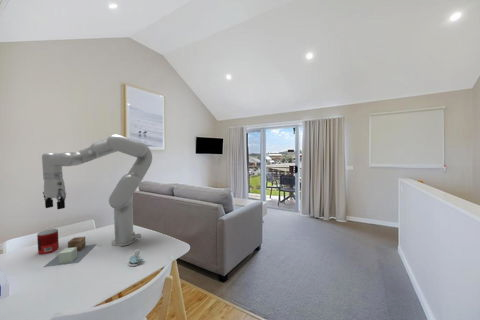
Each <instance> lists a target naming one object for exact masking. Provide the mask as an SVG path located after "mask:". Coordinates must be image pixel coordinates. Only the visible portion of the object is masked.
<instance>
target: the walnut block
mask: <svg viewBox="0 0 480 320" xmlns="http://www.w3.org/2000/svg"><path fill="white" fill-rule="evenodd" d="M85 246H86V236H79V237H73V238H72V239H70V240H69V241H67V248H73V247H77V251H81V250H82V249H83V248H84V247H85Z"/></svg>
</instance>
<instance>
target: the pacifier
mask: <svg viewBox="0 0 480 320" xmlns="http://www.w3.org/2000/svg"><path fill="white" fill-rule="evenodd" d="M140 252H141V250H140V249H138V248H137V249H135V251H134V255H132V256H130V258H129V260H128V262H127V266H129V267H137V266H139V264H140V262H142V261H143V260H144V258H141V257H140V256H139V255H140Z"/></svg>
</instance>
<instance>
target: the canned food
mask: <svg viewBox="0 0 480 320" xmlns="http://www.w3.org/2000/svg"><path fill="white" fill-rule="evenodd" d="M36 237H37V253H38V255H47V254H48V255H49V254H51V253H54V252H56V251H58V250H59V247H60V245H59V229H58V228H50V229H46V230H45V229H44V230H41V231H39V232H38V233H37V236H36Z"/></svg>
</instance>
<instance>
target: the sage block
mask: <svg viewBox="0 0 480 320" xmlns="http://www.w3.org/2000/svg"><path fill="white" fill-rule="evenodd" d="M58 255H59V264H61V263H69V262H72V261H73V260H74V259H76V258H77V247H73V248H68V247H66V248H63V249H62V250H61V251H60V252H58Z"/></svg>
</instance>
